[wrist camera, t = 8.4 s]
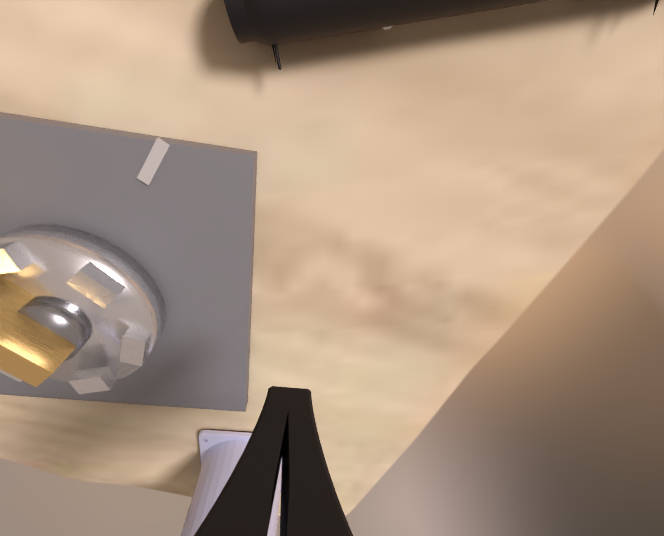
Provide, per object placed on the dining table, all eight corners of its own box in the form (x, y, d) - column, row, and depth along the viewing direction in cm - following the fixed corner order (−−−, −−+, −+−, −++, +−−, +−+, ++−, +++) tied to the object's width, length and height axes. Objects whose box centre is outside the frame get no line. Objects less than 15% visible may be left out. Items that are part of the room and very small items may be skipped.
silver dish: (200, 309, 20) (167, 372, 16) (107, 379, 23) (59, 449, 19) (-63, 106, 14) (-228, 121, 10) (-142, 237, 17) (-296, 292, 13)
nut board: (247, 400, 27) (244, 413, 26) (-26, 380, 25) (-40, 393, 24) (257, 147, 17) (253, 152, 16) (-205, 76, 15) (-243, 76, 14)
